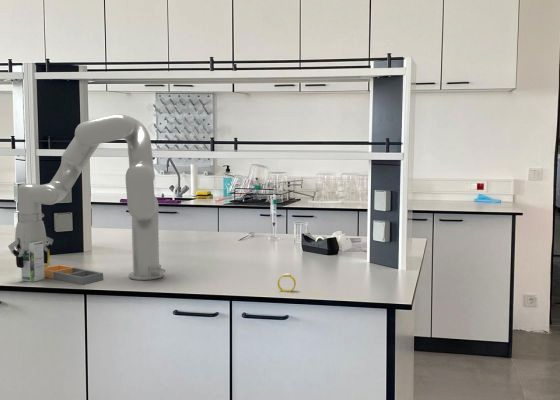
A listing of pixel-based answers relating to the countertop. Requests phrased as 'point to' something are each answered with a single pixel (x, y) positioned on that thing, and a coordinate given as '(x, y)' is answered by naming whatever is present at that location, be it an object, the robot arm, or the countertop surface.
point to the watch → (286, 276)
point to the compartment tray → (72, 274)
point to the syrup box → (33, 262)
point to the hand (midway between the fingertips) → (32, 265)
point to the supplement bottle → (47, 261)
